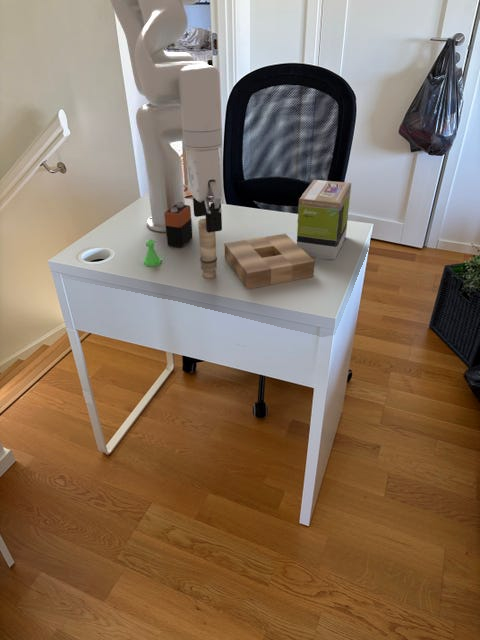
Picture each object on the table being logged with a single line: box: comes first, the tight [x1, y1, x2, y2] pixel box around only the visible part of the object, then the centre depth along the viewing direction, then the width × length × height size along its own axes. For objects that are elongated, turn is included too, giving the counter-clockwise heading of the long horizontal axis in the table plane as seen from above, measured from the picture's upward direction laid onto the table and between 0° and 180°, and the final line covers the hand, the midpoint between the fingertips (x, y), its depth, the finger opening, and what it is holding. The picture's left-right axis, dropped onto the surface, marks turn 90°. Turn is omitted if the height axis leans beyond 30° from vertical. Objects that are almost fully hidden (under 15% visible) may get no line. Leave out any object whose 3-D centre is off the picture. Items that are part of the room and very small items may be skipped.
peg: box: [197, 218, 218, 279], centre depth 103 cm, size 4×4×13 cm
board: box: [223, 233, 316, 290], centre depth 108 cm, size 16×16×4 cm
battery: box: [164, 202, 193, 249], centre depth 118 cm, size 4×7×10 cm, turn 160°
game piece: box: [143, 239, 162, 267], centre depth 110 cm, size 4×4×6 cm
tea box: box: [296, 179, 352, 261], centre depth 115 cm, size 15×10×15 cm, turn 159°
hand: (207, 223), depth 98 cm, fingers open, 9 cm apart
